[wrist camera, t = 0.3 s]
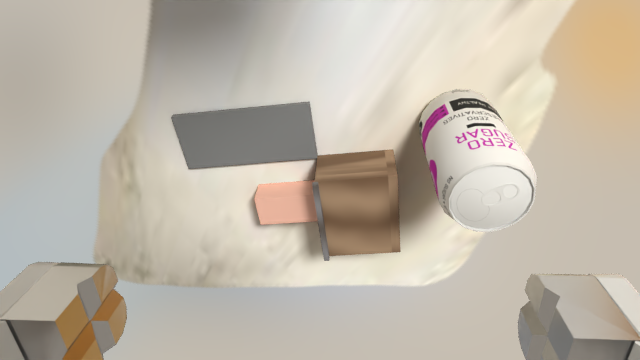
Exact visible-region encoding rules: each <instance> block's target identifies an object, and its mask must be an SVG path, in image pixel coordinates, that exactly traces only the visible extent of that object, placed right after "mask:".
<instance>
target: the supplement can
mask: <svg viewBox="0 0 640 360" xmlns="http://www.w3.org/2000/svg"><path fill="white" fill-rule="evenodd" d="M419 132H420V138H421V141H422V144H423V148H424V151H425V155H426V158H427V162H428V165H429V169H430V172H431V176H432V179H433V182H434V186H435V189H436V193H437V196H438V200H439V202H440V204H441V206H442V208H443V210H444V212H445V213H446V214H447V215H449V216H450V217H451V218H452V219H454V220H455V221H456V222H458V223H459V224H460V225H462V226H463V227H464V228H467V229H470V230H473V231H480V232H492V231H496V230H500V229H505V228H507V227H509V226H511V225H513V224H515V223H516V222H518V221H519V220H520V219H521V218H522V217H524V216H525V215H526V214H527V213H528V212H529V210H530V208H531V206H532V204H533V203H534V199H535V191H536V181H537V176H536V173H535V170H534V168H533V165H532V163H531V162H530V160H529V159H528V157H527V156H526V154H525V153H524V151H523V150H522V148H521V147H520V145H519V144H518V142H517V141H516V139H515V138H514V136H513V135H512V133H511V132H510V130H509V129H508V127H507V126H506V124H505V123H504V122H503V120H502V119H501V117H500V116H499V114H498V113H497V111H496V110H495V108H494V107H493V105H492V104H491V102H490V101H489V100H488V99H487V98H486V97H485V96H484V95H482V94H481V93H478V92H475V91H473V90H470V89H455V90H452V91H448V92H445V93H442V94H441V95H439V96H438V97H436V98H435V99H433V100H432V101H431V102H430V103H429V104H428V106H427V107H426V108H425V109H424V111H423V113H422V116H421V119H420V122H419Z"/></svg>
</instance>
